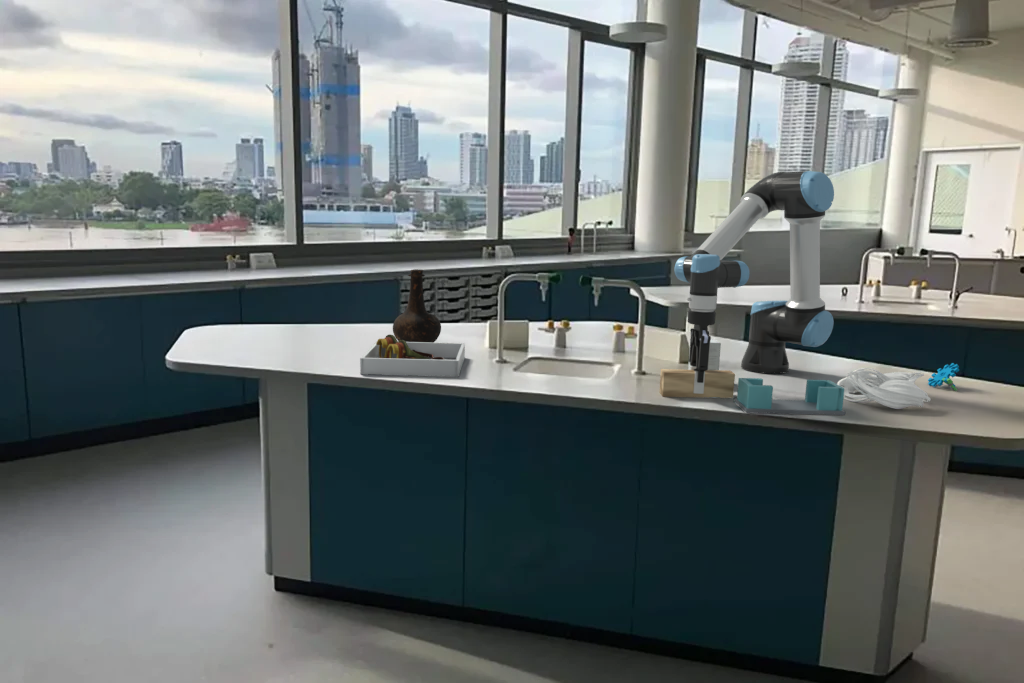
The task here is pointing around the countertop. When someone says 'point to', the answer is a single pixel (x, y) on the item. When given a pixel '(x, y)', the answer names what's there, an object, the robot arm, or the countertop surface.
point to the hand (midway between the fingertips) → (696, 390)
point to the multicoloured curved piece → (400, 350)
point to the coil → (884, 388)
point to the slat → (683, 383)
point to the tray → (416, 361)
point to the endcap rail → (817, 400)
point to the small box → (712, 355)
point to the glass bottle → (416, 315)
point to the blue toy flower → (944, 376)
